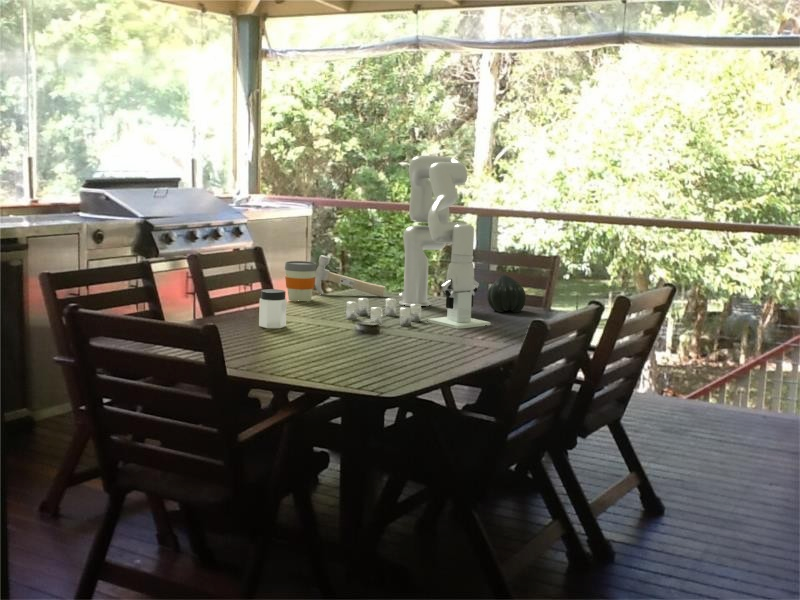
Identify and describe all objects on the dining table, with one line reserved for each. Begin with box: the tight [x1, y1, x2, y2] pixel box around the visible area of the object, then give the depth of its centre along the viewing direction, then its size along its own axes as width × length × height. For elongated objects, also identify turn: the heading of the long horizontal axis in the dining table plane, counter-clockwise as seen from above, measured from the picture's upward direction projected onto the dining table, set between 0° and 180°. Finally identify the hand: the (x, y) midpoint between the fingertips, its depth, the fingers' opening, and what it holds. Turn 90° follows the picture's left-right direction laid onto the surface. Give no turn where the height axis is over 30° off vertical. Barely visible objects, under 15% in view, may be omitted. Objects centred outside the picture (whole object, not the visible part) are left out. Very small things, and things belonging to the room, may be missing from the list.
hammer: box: [314, 254, 386, 298], centre depth 381 cm, size 16×5×30 cm
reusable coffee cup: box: [284, 260, 317, 302], centre depth 361 cm, size 13×13×15 cm
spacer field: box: [345, 297, 422, 327], centre depth 324 cm, size 28×22×6 cm
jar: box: [258, 288, 287, 329], centre depth 302 cm, size 9×8×12 cm
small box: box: [446, 291, 472, 322], centre depth 322 cm, size 8×6×10 cm
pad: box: [426, 316, 491, 330], centre depth 323 cm, size 16×16×1 cm
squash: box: [486, 274, 527, 313], centre depth 356 cm, size 14×15×15 cm
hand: (459, 307), depth 322 cm, fingers open, 9 cm apart
